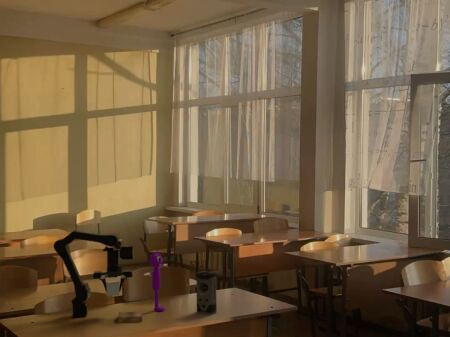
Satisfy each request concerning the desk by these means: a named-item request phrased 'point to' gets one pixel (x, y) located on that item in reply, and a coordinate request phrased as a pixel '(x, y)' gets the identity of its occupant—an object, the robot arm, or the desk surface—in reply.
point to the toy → (156, 277)
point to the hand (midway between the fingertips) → (113, 291)
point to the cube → (113, 288)
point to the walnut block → (130, 317)
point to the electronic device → (206, 292)
